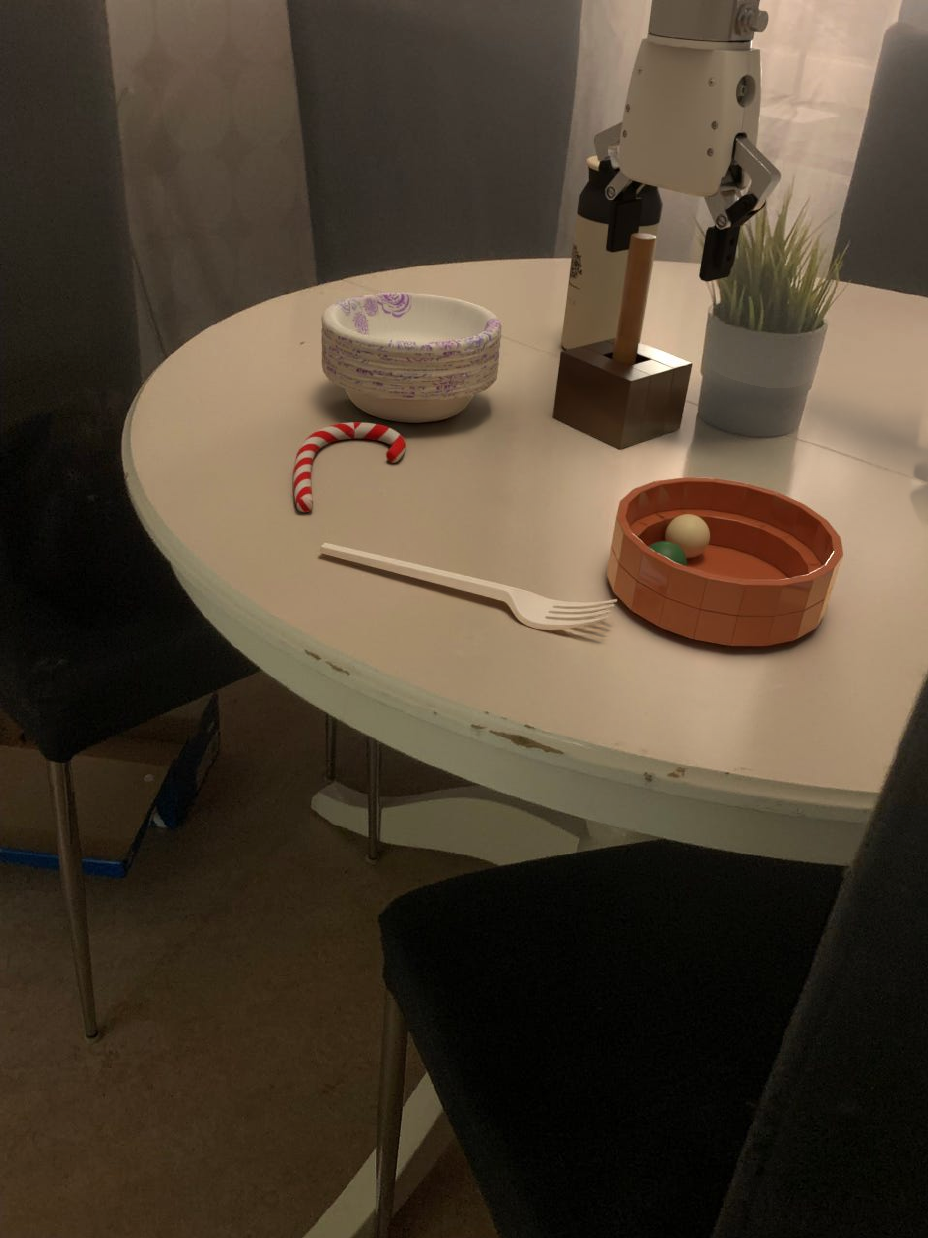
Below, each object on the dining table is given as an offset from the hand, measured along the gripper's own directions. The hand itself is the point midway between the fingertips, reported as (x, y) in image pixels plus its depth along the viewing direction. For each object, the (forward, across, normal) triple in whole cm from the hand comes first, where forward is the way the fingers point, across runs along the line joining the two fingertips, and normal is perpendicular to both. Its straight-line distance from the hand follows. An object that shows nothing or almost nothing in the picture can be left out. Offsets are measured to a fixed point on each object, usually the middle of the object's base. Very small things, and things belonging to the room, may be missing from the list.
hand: (666, 263), depth 87 cm
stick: (+14, +2, +2) cm, 14 cm away
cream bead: (+12, -18, +16) cm, 27 cm away
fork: (+14, -12, +32) cm, 36 cm away
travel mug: (+14, +16, -12) cm, 24 cm away
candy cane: (+14, +7, +28) cm, 31 cm away
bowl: (+14, -21, +18) cm, 31 cm away
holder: (+14, +2, +2) cm, 14 cm away
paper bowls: (+14, +15, +14) cm, 25 cm away
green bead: (+12, -19, +20) cm, 30 cm away
